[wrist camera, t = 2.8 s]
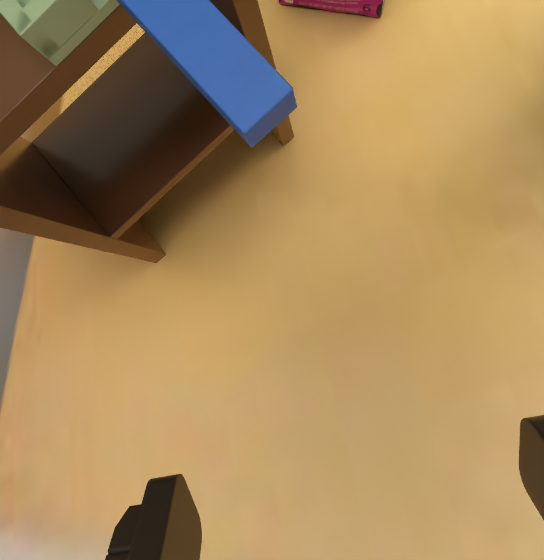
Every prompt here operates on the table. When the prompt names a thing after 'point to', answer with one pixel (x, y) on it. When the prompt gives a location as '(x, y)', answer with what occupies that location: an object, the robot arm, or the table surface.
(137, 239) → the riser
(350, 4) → the candy bar box
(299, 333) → the table surface
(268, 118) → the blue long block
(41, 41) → the green shallow tray
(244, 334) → the table surface
